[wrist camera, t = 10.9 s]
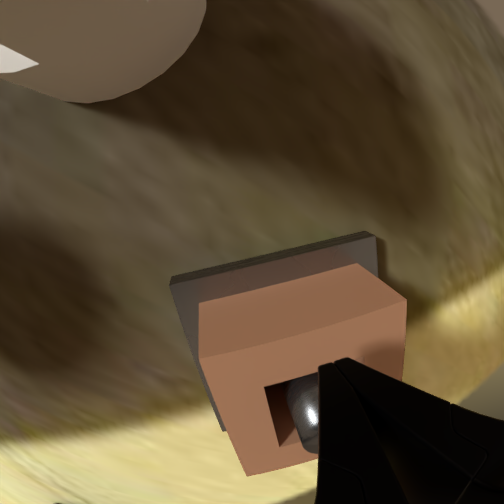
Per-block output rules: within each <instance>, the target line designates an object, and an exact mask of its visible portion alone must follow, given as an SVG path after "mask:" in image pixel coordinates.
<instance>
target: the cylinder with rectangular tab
mask: <svg viewBox="0 0 504 504" xmlns="http://www.w3.org/2000/svg"><path fill="white" fill-rule="evenodd" d="M205 12H206V0H0V79H2V80H5V81H8V82H11V83H14V84H17V85H20V86H23V87H26V88H29V89H32V90H34V91H37V92H40V93H43V94H46V95H48V96H51V97H54V98H57V99H59V100H62V101H65V102H77V103H93V102H98V101H104V100H110V99H115V98H117V97H119V96H122V95H124V94H127V93H129V92H132V91H134V90H137V89H140V88H141V87H143V86H144V85H146V84H147V83H149V82H150V81H152V80H153V79H155V78H156V77H158V76H160V75H161V74H163V73H164V72H165V71H166V70H167V69H168V68H169V67H170V66H171V65H172V64H173V63H174V62H176V61H177V60H178V59H179V58H180V57H181V56H182V55H183V54H184V53H185V51H186V50H187V48H188V47H189V45H190V44H191V42H192V41H193V39H194V38H195V36H196V35H197V34H198V32H199V29H200V26H201V23H202V20H203V18H204V15H205Z"/></svg>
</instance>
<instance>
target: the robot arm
mask: <svg viewBox="0 0 504 504" xmlns="http://www.w3.org/2000/svg"><path fill="white" fill-rule="evenodd" d="M314 504H504V420H499V419H496V418H492V417H489V416H485V415H482V414H479V413H476V412H474V411H471V410H468V409H466V408H463V407H460V406H458V405H456V404H453V403H452V404H451V405H450V402H448V401H446V400H443V399H441V398H438V397H436V396H434V395H431V394H429V393H427V392H424V391H422V390H420V389H417V388H415V387H413V386H411V385H408V384H406V383H404V382H402V381H399V380H397V379H395V378H393V377H390V376H388V375H386V374H384V373H382V372H379V371H377V370H375V369H373V368H371V367H368V366H366V365H364V364H362V363H360V362H358V361H356V360H354V359H351V358H349V357H344V358H341V359H338V360H335V361H334V362H333V363H332V362H329V363H326V364H322V365H319V366H318V476H317V488H316V496H315V502H314Z"/></svg>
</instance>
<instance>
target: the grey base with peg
mask: <svg viewBox="0 0 504 504" xmlns="http://www.w3.org/2000/svg"><path fill="white" fill-rule="evenodd" d="M355 263H358V264H359V265H361V266H362V267H364V268H365V269H366V270H368V271H369V272H370V273H372V274H373V275H374V276H376V277H377V278H378V264H377V248H376V236H375V235H373V234H371V233H369V232H367V231H362V232H358V233H354V234H350V235H346V236H342V237H337V238H333V239H329V240H325V241H321V242H316V243H312V244H308V245H304V246H300V247H295V248H291V249H287V250H283V251H279V252H274V253H270V254H266V255H262V256H257V257H253V258H249V259H245V260H240V261H236V262H232V263H228V264H223V265H219V266H215V267H211V268H206V269H202V270H198V271H193V272H189V273H185V274H180V275H176V276H172V277H171V280H170V284H169V286H170V289H171V293H172V296H173V299H174V302H175V305H176V308H177V311H178V314H179V317H180V320H181V323H182V326H183V329H184V332H185V335H186V338H187V341H188V344H189V346H190V349H191V352H192V355H193V358H194V360H195V363H196V366H197V369H198V371H199V374H200V377H201V379H202V382H203V384H204V387H205V390H206V392H207V395H208V397H209V400H210V402H211V405H212V407H213V410H214V412H215V415H216V417H217V419H218V422H219V424H220V427H221V429H222V431H223V432H224V431H227V430H226V428H225V426H224V423H223V421H222V418H221V416H220V413H219V411H218V408H217V406H216V403H215V401H214V398H213V396H212V393H211V391H210V388H209V386H208V383H207V380H206V378H205V375H204V372H203V370H202V367H201V364H200V361H199V303H202V302H206V301H210V300H214V299H219V298H223V297H227V296H231V295H235V294H240V293H244V292H248V291H252V290H256V289H260V288H264V287H268V286H272V285H276V284H280V283H284V282H288V281H292V280H295V279H299V278H303V277H307V276H311V275H315V274H318V273H322V272H326V271H330V270H333V269H337V268H341V267H344V266H348V265H352V264H355ZM276 384H278V383H276ZM272 385H275V384H272ZM280 385H281V388H282V390H283V393H284V396H285V399H286V402H287V405H288V407H289V410H290V413H291V416H292V418H293V421H294V424H295V427H296V430H297V432H298V435H299V438H300V441H301V443H302V446H303V448H304V449H305V450H306V451H307V452H310V453H313V454H318V372H315V373H312V374H308V375H305V376H301V377H298V378H294V379H291V380H287V381H284V382H280ZM269 386H271V385H269ZM265 387H267V386H265Z"/></svg>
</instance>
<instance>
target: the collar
mask: <svg viewBox="0 0 504 504" xmlns="http://www.w3.org/2000/svg"><path fill="white" fill-rule="evenodd" d="M406 314H407V299H405V298H404V297H403V296H401V295H400V294H399V293H397V292H396V291H395V290H393V289H392V288H391V287H389V286H388V285H387V284H385V283H384V282H383V281H381V280H380V279H379V278H377V277H376V276H374V275H373V274H372V273H370V272H369V271H368V270H366V269H365V268H364V267H362V266H361V265H359V264H358V263H355V264H352V265H348V266H344V267H341V268H337V269H333V270H330V271H326V272H322V273H318V274H315V275H311V276H307V277H303V278H299V279H295V280H292V281H288V282H284V283H280V284H276V285H272V286H268V287H264V288H260V289H256V290H252V291H248V292H244V293H240V294H235V295H231V296H227V297H223V298H219V299H214V300H210V301H206V302H202V303H199V361H200V364H201V367H202V370H203V372H204V375H205V378H206V380H207V383H208V386H209V388H210V391H211V393H212V396H213V398H214V401H215V403H216V406H217V408H218V411H219V413H220V416H221V418H222V421H223V423H224V426H225V428H226V430H227V433H228V435H229V437H230V440H231V442H232V444H233V447H234V449H235V451H236V454H237V456H238V458H239V460H240V463H241V465H242V467H243V469H244V471H245V473H246V476H252V475H256V474H261V473H265V472H270V471H274V470H278V469H282V468H286V467H290V466H293V465H297V464H301V463H304V462H308V461H311V460H314V459H317V458H318V454H313V453H310V452H307V451H306V450H305V449H304V448H303V446H302V443H301V441H300V438H299V435H298V432H297V430H296V427H295V424H294V421H293V418H292V416H291V413H290V410H289V407H288V405H287V402H286V399H285V396H284V393H283V390H282V388H281V385H280V382H284V381H287V380H291V379H294V378H298V377H301V376H305V375H308V374H312V373H315V372H318V366H319V365H322V364H326V363H329V362H332V363H333V362H334V361H335V360H338V359H341V358H344V357H349V358H351V359H354V360H356V361H358V362H360V363H362V364H364V365H366V366H368V367H371V368H373V369H375V370H377V371H379V372H382V373H384V374H386V375H388V376H390V377H393V378H395V379H397V380H399V381H402V374H403V364H404V351H405V336H406ZM276 383H278V384H276ZM272 384H275V385H272ZM269 385H271V386H269ZM265 386H267V387H265Z"/></svg>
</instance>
